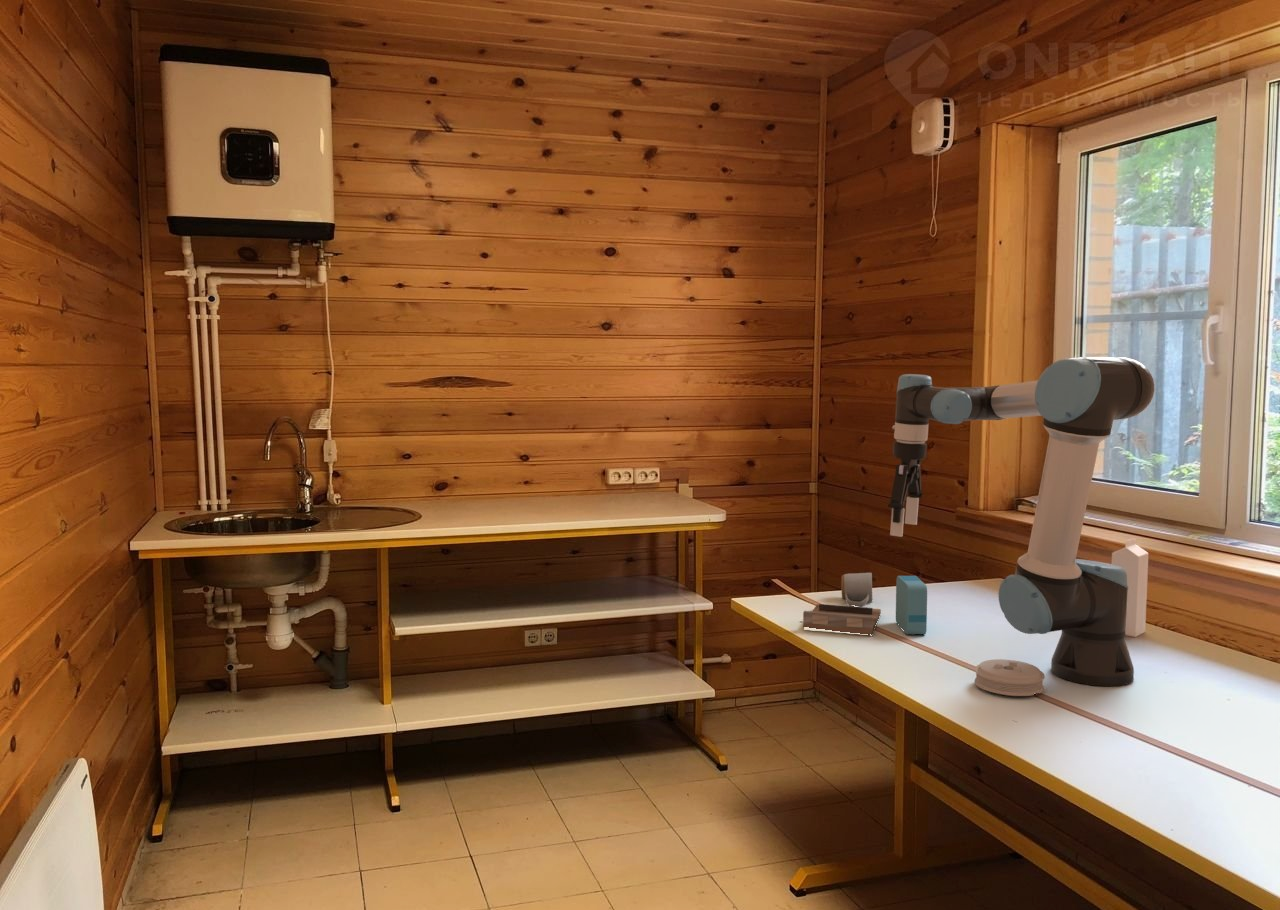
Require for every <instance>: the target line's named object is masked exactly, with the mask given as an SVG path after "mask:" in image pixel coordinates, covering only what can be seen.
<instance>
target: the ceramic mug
mask: <svg viewBox="0 0 1280 910" xmlns="http://www.w3.org/2000/svg"><path fill="white" fill-rule="evenodd" d="M840 585H841V588H840V589H841V599H842V600H844V601H845V602H846V604H848V606H851V605H855V606H861V607H863V605H864V606H865V605H867V604H868V603H873V601H874V600H873V573H872V572H859V573H857V572H856V573H845V574H842V575H841V584H840ZM872 600H873V601H872ZM859 601H860V602H859Z"/></svg>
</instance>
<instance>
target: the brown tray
mask: <svg viewBox="0 0 1280 910" xmlns="http://www.w3.org/2000/svg"><path fill="white" fill-rule="evenodd" d="M881 611H882V609H881V608H873V607H865V606H864V607H863V606H861V607H854V606H851V605H839V604H826V603H819V604H816V605H815V607H814V608H813V609H812V611H810V610H804V611H803V612H802V613H803V614H802V616H803V619H802V621H803V622H802V625H803V627H809V628H816V629H825V630H832V631H840V632H850V633H860V634H868V635H870V634H871V635H872V634H873V635H874V633H873V631H874V632H875V630H874V628H875V625H876V623H877V621H878V622H879V620H880V618H879V616H880V614H881ZM880 617H881V616H880ZM878 619H879V620H878ZM877 624H878V623H877ZM876 626H877V625H876ZM803 627H802V628H803ZM875 629H876V628H875ZM873 635H872V636H873Z"/></svg>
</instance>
